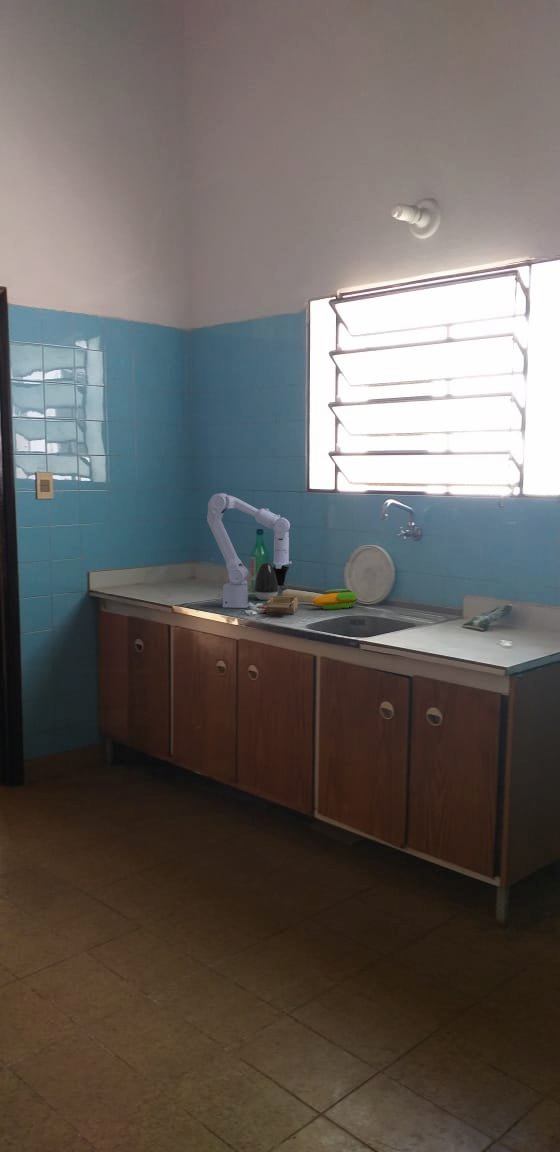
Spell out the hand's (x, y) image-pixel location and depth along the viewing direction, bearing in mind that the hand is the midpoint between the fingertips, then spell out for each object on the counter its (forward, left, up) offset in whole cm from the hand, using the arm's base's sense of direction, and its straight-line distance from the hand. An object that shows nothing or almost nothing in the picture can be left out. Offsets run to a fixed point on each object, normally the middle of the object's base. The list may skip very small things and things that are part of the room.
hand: (280, 585), depth 349 cm
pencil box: (+2, -8, -9) cm, 12 cm away
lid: (+2, -16, -5) cm, 17 cm away
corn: (+21, +2, -9) cm, 22 cm away
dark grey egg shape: (-8, +21, -9) cm, 25 cm away
